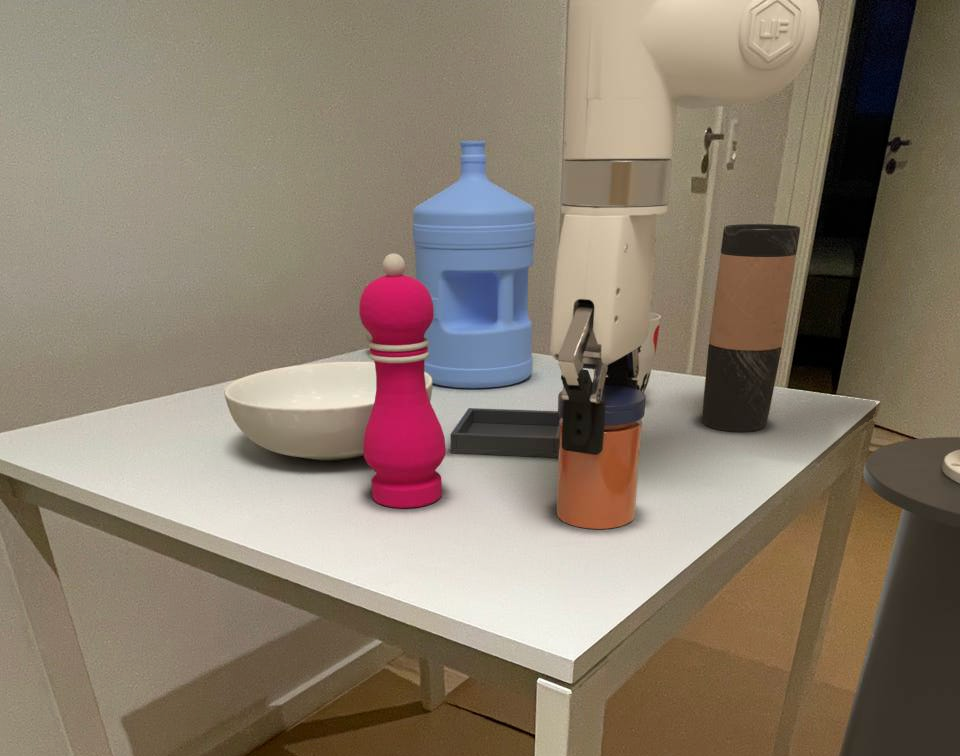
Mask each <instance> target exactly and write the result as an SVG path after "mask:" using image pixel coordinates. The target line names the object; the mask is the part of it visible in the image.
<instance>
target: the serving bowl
mask: <svg viewBox="0 0 960 756" xmlns="http://www.w3.org/2000/svg"><path fill="white" fill-rule="evenodd" d="M424 375H425V384H426V390H427V394H428V398H429V400H430V402H431V400H432V392H433V384H434V383H433V381H432V378H431V376H430V375H429V374H428V373H426V372H424ZM223 391H224V392H223V394H224V398H225V399H224V400H225V402H226V405H227V408H228V411H229V413H230V416H231V417H232V418H231V419H232V420H233V421H234V423H235V424H236V426H237V428H239V430H240V431H241V432H242V433H243V435H245V436H246V437H247V438H248V439H249V440H251V441H252V442H253V443H255V444H256V445H258V446H260V447H261V448H264V449H265V450H268V451H270V452H273V453H276V454H279V455H285V456H289V457H295V458H302V459H303V458H304V459H307V460H313V461H341V460H351V459H356V458H361V457H364V454H363V441H364V435H365V430H366V427H367V424H368V421H369V418H370V415H371V412H372V408H373V405H374V402H375V395H376V370H375V362H374V361H330V362H317V363H307V364H297V365H291V366H285V367H278V368H273V369H269V370H268V369H267V370H264V371H260V372H256V373H253V374H250V375H246V376H243V377H241V378H238V379H236V380H234V381H233V382H231V383H229V384H228V385H227V386H226V387H225V388H224V390H223Z"/></svg>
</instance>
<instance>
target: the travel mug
mask: <svg viewBox="0 0 960 756" xmlns="http://www.w3.org/2000/svg"><path fill="white" fill-rule="evenodd" d="M800 234H801V227H800V226H797V225H791V224H777V223H775V224H773V223H743V224H742V223H741V224H740V223H739V224H729V225H725V226H724V227H723V232H722V239H721V247H720V254H719V263H718V268H717V277H716V283H715V284H716V286H715V293H714V299H713V306H712V307H713V308H712V313H711V322H710V330H709V338H708V346H707V347H708V348H707V359H706V366H705V380H704V388H703V389H704V390H703V400H702V401H703V402H702V413H701V422H702V424H703V425H704V426H706V427H708V428H712V429H713V430H714V429H715V430H719V431H722V432H723V431H724V432H732V433H733V432H736V433H745V432H746V433H748V432H756V431H760V430H763V429H764V428H766V427H767V424H768V419H769V415H770V411H771V406H772V400H773V395H774V389H775V385H776V380H777V375H778V370H779V365H780V360H781V354H782V349H783V347H782V346H783V343H784V337H785V331H786V325H787V319H788V318H787V317H788V311H789V305H790V299H791V292H792V287H793V279H794V273H795V265H796V261H797V260H796V259H797V252H798V246H799V241H800Z"/></svg>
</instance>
